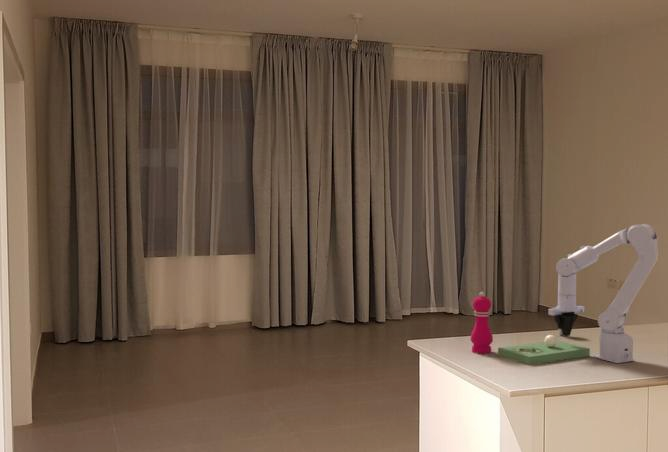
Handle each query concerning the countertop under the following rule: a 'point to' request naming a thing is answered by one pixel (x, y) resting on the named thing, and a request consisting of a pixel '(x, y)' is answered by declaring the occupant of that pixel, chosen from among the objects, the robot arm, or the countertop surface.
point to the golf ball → (550, 341)
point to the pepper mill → (481, 325)
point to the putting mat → (543, 352)
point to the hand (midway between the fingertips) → (566, 335)
